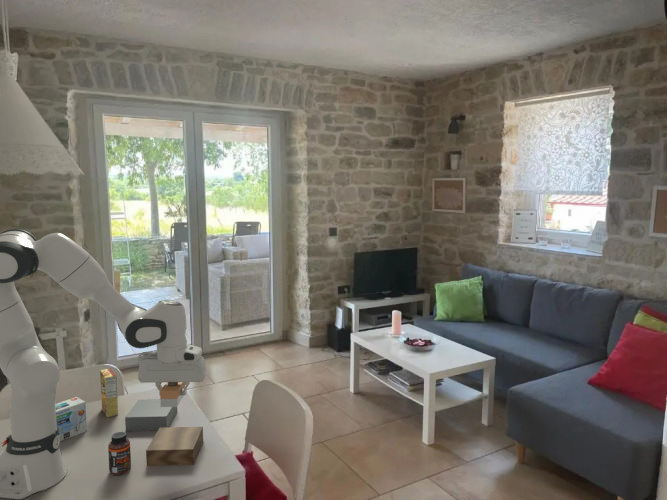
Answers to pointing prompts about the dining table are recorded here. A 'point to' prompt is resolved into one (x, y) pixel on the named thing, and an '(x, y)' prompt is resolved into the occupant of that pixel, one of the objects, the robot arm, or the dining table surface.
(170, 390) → the cover
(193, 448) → the stand
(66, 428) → the light bulb box
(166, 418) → the stand
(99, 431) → the dining table surface
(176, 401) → the housing base
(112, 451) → the supplement bottle
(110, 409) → the candy box
